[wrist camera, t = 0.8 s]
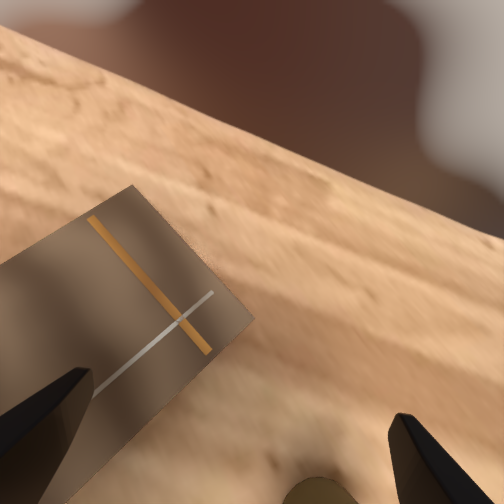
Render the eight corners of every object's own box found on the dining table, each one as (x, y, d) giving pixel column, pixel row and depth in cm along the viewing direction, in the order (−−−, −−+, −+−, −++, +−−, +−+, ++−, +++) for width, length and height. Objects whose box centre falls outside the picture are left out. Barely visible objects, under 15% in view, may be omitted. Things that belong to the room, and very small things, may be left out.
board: (-11, 575, 17) (-34, 599, 16) (-149, 376, 19) (-184, 376, 17) (249, 322, 25) (255, 318, 23) (135, 197, 27) (132, 183, 25)
